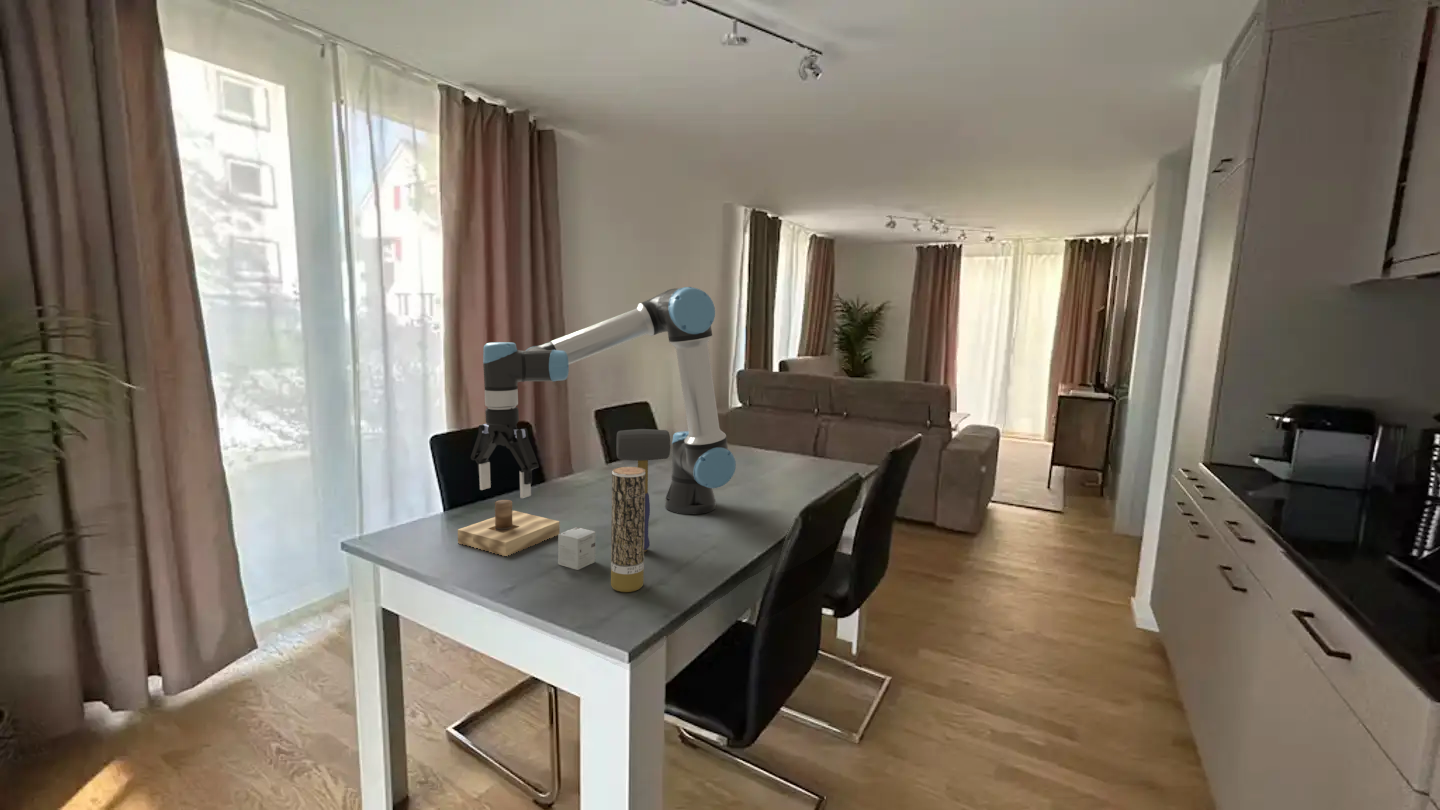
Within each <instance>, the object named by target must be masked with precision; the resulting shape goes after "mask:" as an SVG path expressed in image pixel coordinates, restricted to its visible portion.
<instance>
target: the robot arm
mask: <svg viewBox="0 0 1440 810" xmlns="http://www.w3.org/2000/svg"><path fill="white" fill-rule="evenodd" d="M714 304H715V303H714V301H713V300H712V298H711V297H710V296H709V294H708V293H706V292H705V291H704V290H702V289H700V288H696V287H692V286H684V287H680V288H679V287H677V288H670V289H667V290H664V291H662V292H661V293H659V294H657V295H656V296H653V297H651V298H649V299H646V300H645V301H642V302H639V303H638V304H637V307H636V308H634V309H632V310H629V311H626V312H624V313H621V314H618V315H616V316H613V317H610V318H607V319H604V320H603V321H600V322H597V323H594V324H592V325H589V326H588V327H584V328H581V329H579V330H577V331H574V332H571V333H568V334H566V335H563V336H560V337H557V338H555V339H553V340H551V341H550V340H549V341H548V342H545V343H543V344H540V345H533V346H531V347H528V348H527V349H526V350H520V349H518V348H517V344H516V343H515V342H509V341H508V342H507V341H506V342H505V341H504V342H503V341H495V342H494V341H493V342H492V341H491V342H487V343H485V344H484V345H483V353H482V355H483V359H482V361H483V362H482V363H483V364H482V365H483V366H482V367H483V379H484V380H483V381H484V384H483V385H484V386H483V387H484V406H485V407H486V408H485V410H484V411H485V412H484V413H485V423H484V424H479V425H478V433H477V437H476V440H475V443H474V446H473V449H472V452H471V455H470V459H471V461H475V462H476V464H477V475H478V476H479V478H478V480H479V490H480V491H483V490H486V489H490V488H491V485H492V483H491V482H492V481H491V462H490V460H489V458H490V457H491V455H492V454H493V452H494V451H495V449H496V447H497V446H501V447H506V449H508V450H509V451H510V452H511V454H512V456H513V457H514V459H515V460H516V462H517V464H518V466H519V467H520V469H521V470H519V493H520V495H519V498H520V499H524V498H525V499H526V498H528V497H531V496H532V487H531V485H532V483H533V470H534V469H535V470H536V469H538V468H539V467H540V464H539V462H538V459H537V457H536V454H535V452H534V449H533V446H532V444H531V442H530V439H529V430H528V428H526V427H525V428H521V429H518V427H517V424H518V422H519V421H520V415H519V414H520V413H519V408H518V407H517V406H518V405H519V392H518V391H519V390H518V386H519V385H518V383H520V382H523V383H524V382H557V381H558V382H559V381H565V380H567V379H568V377H569V374H570V373H569V371H570V370H569V369H570V367H569V366H570V365H572V364H574V363H577V362H579V361H582V360H584V359H587V358H589V357H592V356H594V355H597V354H600V353H602V352H604V351H607V350H610V349H613V348H614V347H618V346H620V345H622V344H624V343H627V342H630V341H633V340H636V339H638V338H641V337H643V336H645V335H648V336H650V337H654V336H655V335H657V334H661V333H666V332H667V335H668V337H667V338H668V342H669V343H670V345H671V346H673V347H674V348H675V351H676V358H677V359H676V360H677V365H678V372H679V379H680V384H681V392H682V398H683V405H684V410H685V419H686V424H687V431H686V430H685V431H677V432H675V433H673V435H672V441H671V446H672V447H671V481H670V485H669V487H668V490H667V493H666V496H665V500H664V501H665V502H664V507H665V509H666V510H668V511H670V512H672V513H677V514H684V515H702V514H707V513H710V512H713V511H714V510H715V509H716V505H717V504H716V503H717V501H716V497H715V494H714V493H715V492H714V489H717V488H721V487H723V486H724V485H726V484H728V483H729V482H730V481H731V479H732V478H733V476H734V474H735V472H736V468H737V467H736V466H737V463H736V462H737V461H736V458H735V456H734V454H733V453H732V451H731V450H729V447H728V440H727V439H728V438H727V435H726V433H725V432H724V431H722V429H721V428H720V422H719V415H718V414H719V413H718V408H717V402H716V401H717V400H716V394H715V386H714V379H713V373H712V366H711V358H710V352H709V350H710V349H709V342H710V340H711V339H712V337H713V330H712V324H713V323H714V321H715V318H716V308H715V305H714Z"/></svg>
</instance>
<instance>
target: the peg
mask: <svg viewBox="0 0 1440 810" xmlns="http://www.w3.org/2000/svg"><path fill="white" fill-rule="evenodd" d="M512 511H513V501H512V500H510V499H499V500H496V501H494V517H495V531H498V532H502V533H504V532H507V531H510V530H512V529H513V528H512Z"/></svg>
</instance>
